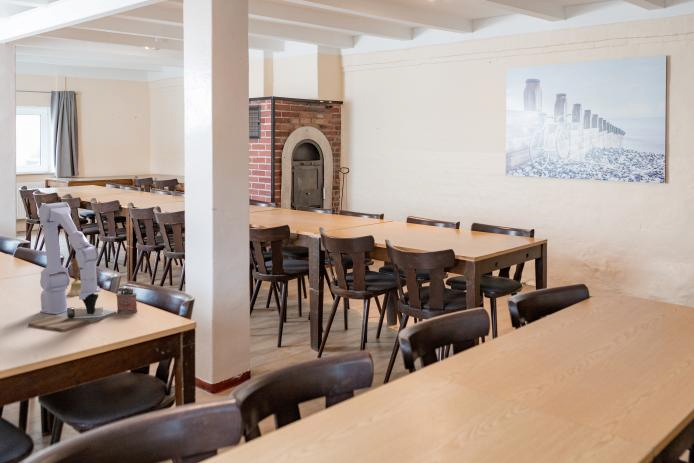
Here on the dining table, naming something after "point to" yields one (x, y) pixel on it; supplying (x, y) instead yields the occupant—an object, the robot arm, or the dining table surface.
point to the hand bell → (75, 284)
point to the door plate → (91, 318)
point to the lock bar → (83, 312)
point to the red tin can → (126, 301)
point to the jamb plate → (58, 323)
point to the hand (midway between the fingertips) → (90, 313)
